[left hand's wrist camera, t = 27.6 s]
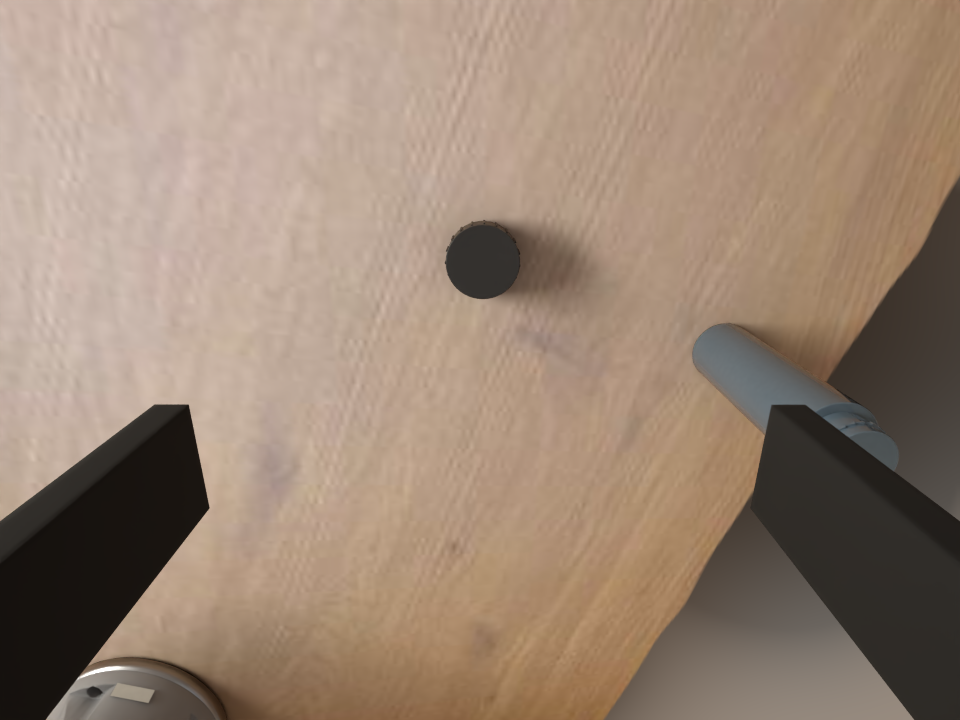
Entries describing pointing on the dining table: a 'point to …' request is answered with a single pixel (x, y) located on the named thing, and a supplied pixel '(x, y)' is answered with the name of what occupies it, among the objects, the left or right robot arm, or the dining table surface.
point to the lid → (482, 260)
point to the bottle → (782, 387)
